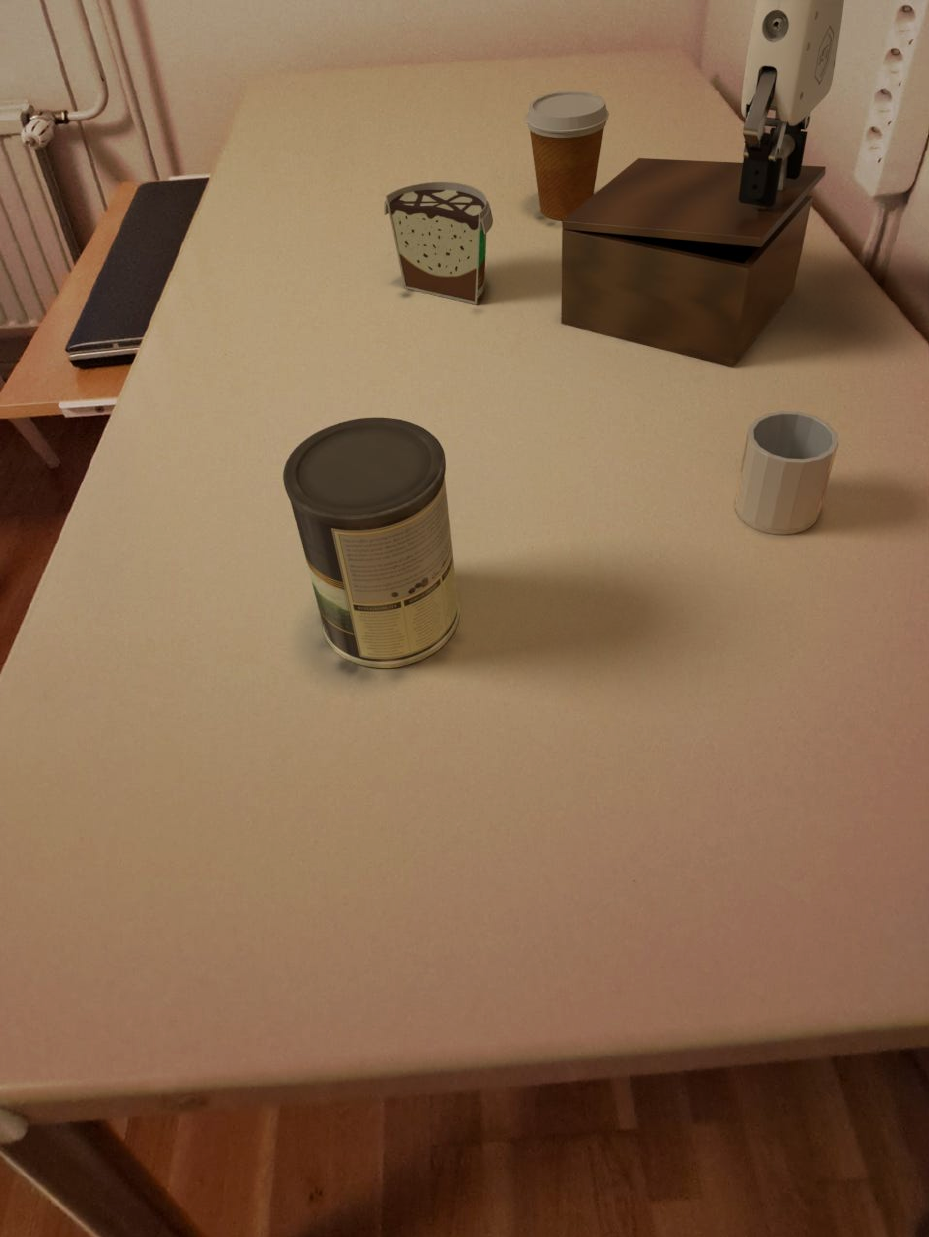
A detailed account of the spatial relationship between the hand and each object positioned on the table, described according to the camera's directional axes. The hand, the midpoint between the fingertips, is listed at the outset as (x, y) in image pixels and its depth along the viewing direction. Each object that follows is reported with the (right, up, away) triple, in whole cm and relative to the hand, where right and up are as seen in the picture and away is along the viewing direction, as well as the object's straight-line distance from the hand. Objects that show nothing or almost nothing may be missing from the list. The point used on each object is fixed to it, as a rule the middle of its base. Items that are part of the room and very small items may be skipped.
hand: (769, 187), depth 85 cm
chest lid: (-6, +1, +5) cm, 7 cm away
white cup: (-3, -30, -10) cm, 32 cm away
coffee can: (-33, -39, -15) cm, 53 cm away
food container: (-29, -2, +19) cm, 35 cm away
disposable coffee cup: (-15, +11, +31) cm, 36 cm away
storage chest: (-5, -7, +13) cm, 15 cm away
